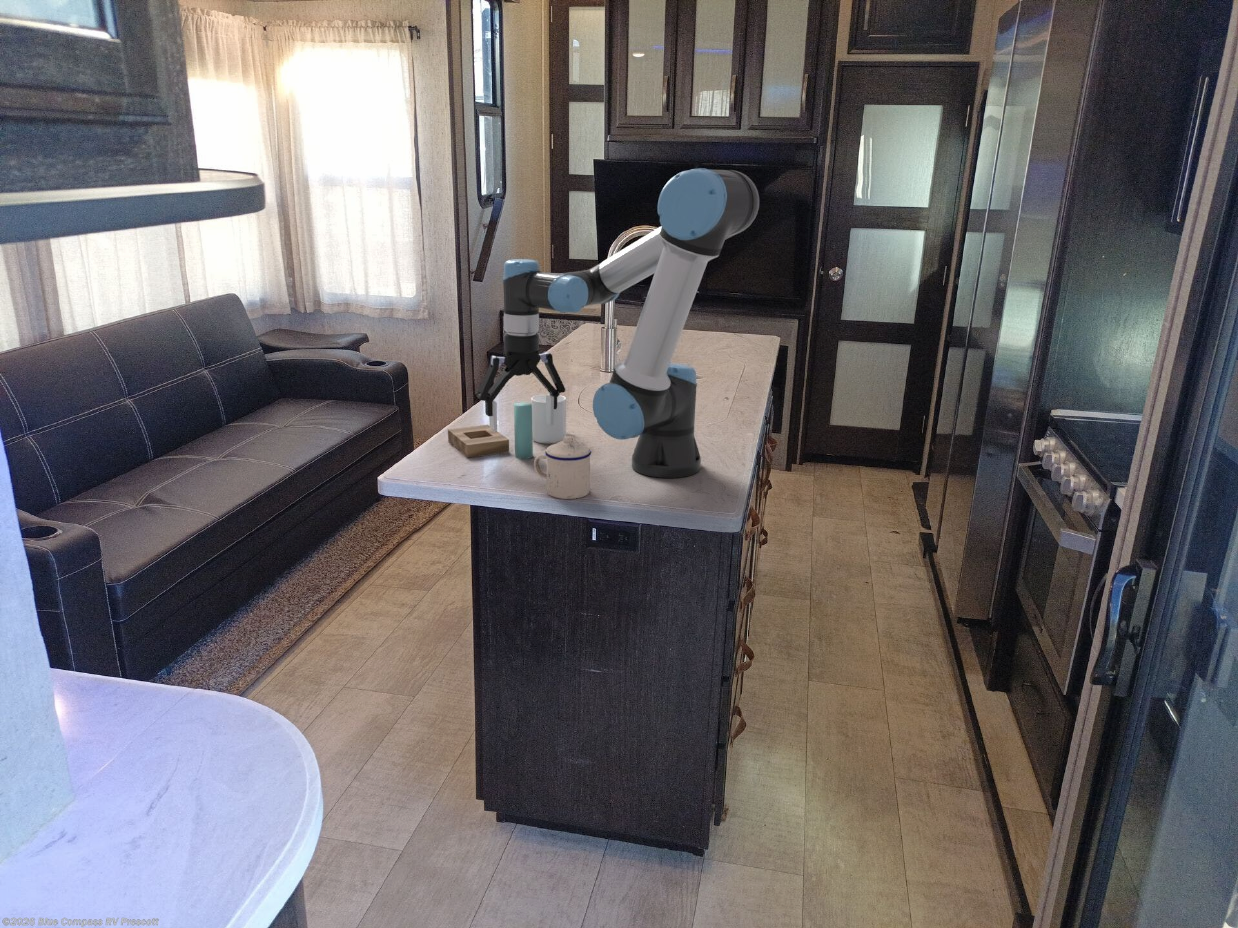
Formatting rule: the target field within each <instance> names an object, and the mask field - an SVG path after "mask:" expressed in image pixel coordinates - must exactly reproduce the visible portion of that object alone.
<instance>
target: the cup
mask: <svg viewBox="0 0 1238 928" xmlns="http://www.w3.org/2000/svg"><path fill="white" fill-rule="evenodd" d="M530 400H531V404H532V436H533V441H534V442H536V443H539V444H544V445H545V444H551V445H553V444H557V443H558V442H560V441H563V438H564V437H565V436H567V398H566V396H564V395H561V394H560V395H559V396H558V397H557V409H554V425H550V424H548V423H547V422H546V394H537V395H534V396H532V397H531V399H530Z"/></svg>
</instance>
